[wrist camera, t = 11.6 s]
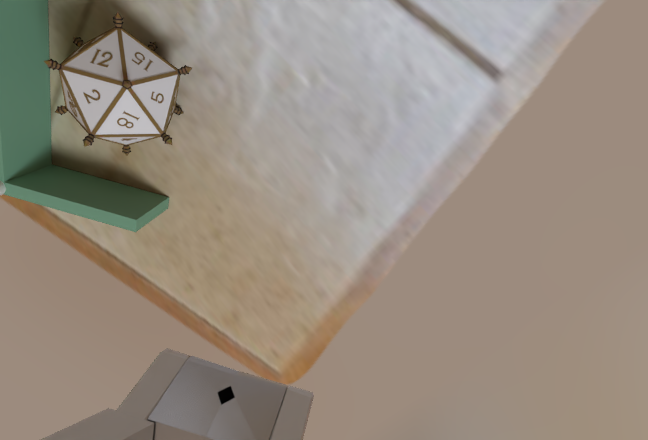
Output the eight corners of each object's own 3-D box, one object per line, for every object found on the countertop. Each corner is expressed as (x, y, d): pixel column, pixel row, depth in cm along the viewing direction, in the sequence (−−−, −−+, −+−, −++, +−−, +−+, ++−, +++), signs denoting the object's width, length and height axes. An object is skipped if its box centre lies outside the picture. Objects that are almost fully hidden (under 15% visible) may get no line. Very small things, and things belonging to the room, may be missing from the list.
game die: (182, 103, 39) (126, 201, 34) (83, 34, 35) (4, 133, 30) (233, 50, 32) (172, 161, 27) (118, -44, 28) (23, 68, 23)
